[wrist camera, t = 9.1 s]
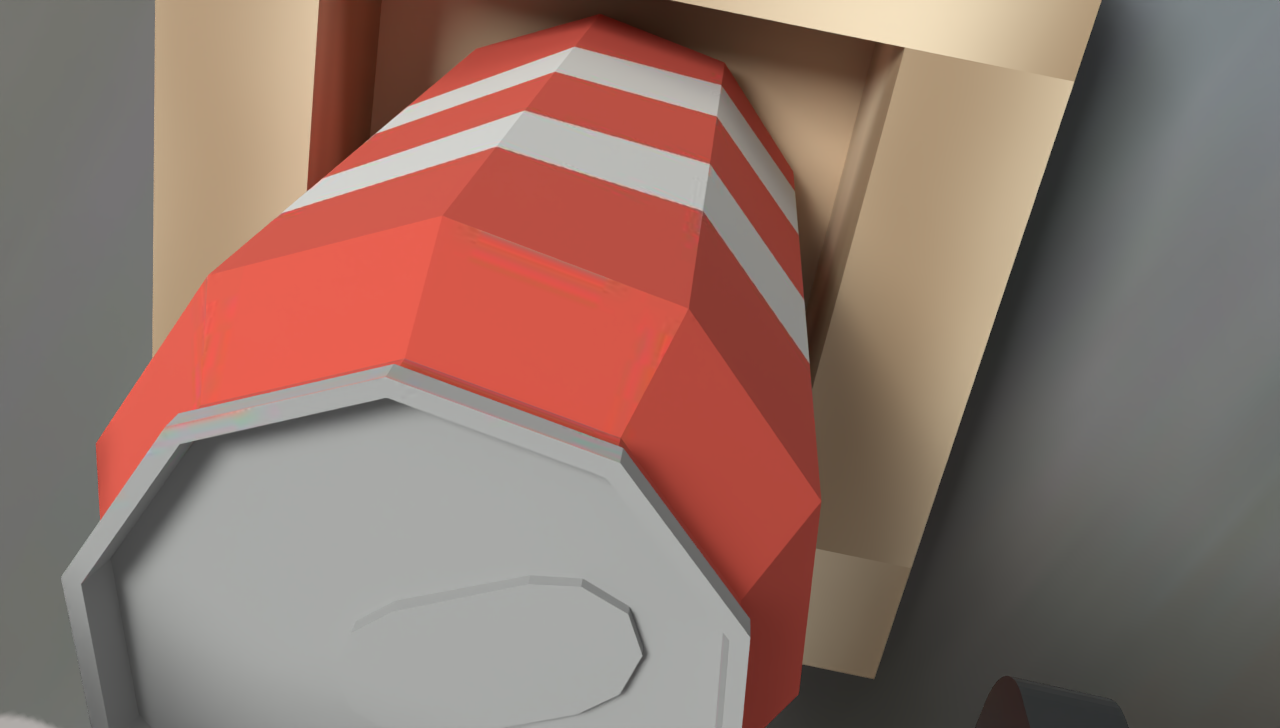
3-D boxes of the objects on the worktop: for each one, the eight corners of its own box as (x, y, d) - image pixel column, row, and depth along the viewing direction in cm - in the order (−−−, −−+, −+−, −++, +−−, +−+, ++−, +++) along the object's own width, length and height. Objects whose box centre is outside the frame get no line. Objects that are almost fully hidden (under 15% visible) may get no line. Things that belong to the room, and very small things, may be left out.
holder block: (1060, -116, 18) (1134, -100, 14) (856, 544, 23) (873, 679, 19) (278, -274, 18) (157, -297, 15) (246, 418, 23) (151, 529, 20)
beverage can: (832, 330, 20) (914, 933, 9) (479, 408, 22) (192, 1019, 11) (747, -33, 18) (723, 211, 7) (356, 76, 19) (-172, 427, 8)
